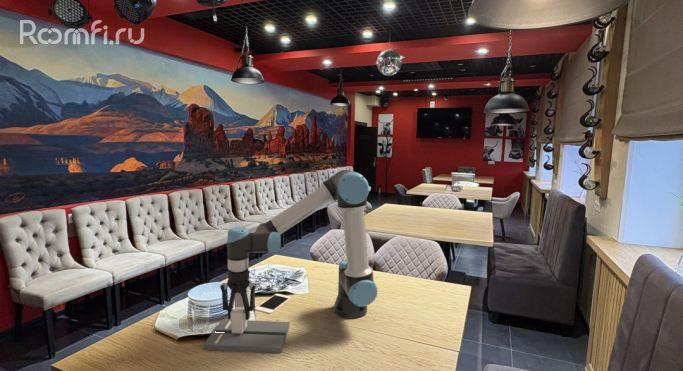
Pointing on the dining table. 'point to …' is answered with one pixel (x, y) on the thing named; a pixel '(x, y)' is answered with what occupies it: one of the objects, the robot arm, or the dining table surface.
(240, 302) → the travel mug
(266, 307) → the cell phone
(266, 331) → the slider panel
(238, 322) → the slider handle
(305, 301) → the dining table surface
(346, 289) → the robot arm
